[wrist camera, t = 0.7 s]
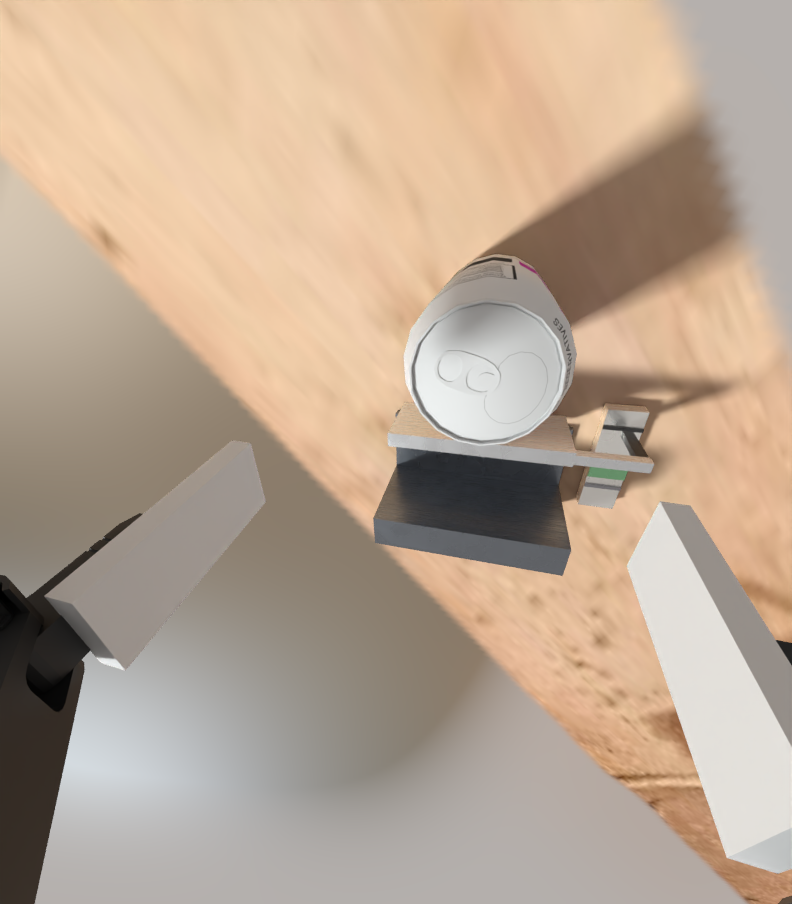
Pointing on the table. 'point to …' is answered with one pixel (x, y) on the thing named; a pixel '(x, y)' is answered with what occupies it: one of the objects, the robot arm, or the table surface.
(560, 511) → the gauge housing
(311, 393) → the table surface
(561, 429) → the gauge plunger
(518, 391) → the supplement can
